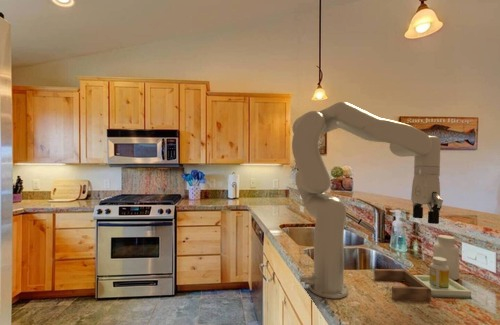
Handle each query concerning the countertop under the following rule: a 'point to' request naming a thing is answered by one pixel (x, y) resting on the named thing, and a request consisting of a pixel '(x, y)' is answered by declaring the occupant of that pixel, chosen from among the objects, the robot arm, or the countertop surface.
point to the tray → (452, 291)
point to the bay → (407, 293)
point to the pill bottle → (448, 254)
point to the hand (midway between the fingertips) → (425, 220)
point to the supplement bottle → (439, 273)
